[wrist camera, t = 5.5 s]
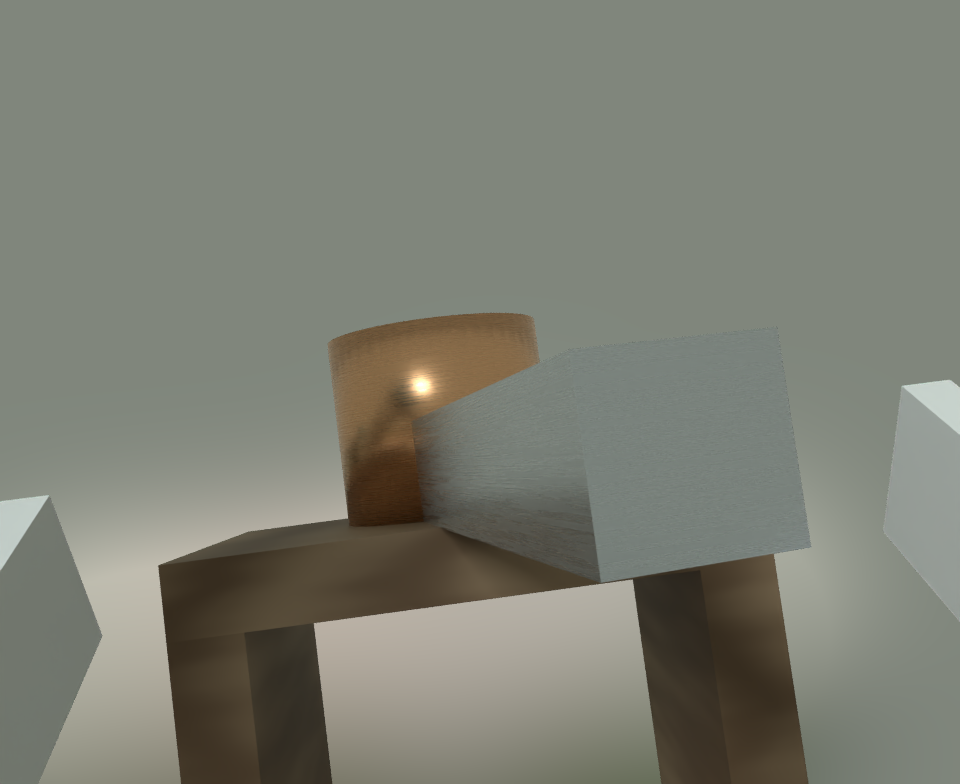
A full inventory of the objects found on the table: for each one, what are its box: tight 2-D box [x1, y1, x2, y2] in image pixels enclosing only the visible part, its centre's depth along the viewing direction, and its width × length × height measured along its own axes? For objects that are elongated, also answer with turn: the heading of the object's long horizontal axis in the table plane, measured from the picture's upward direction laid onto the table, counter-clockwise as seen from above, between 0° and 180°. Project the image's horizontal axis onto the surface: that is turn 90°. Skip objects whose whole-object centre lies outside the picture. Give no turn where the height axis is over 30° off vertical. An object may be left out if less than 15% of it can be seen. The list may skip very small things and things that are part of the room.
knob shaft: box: [328, 313, 811, 583], centre depth 22 cm, size 7×22×6 cm, turn 13°
